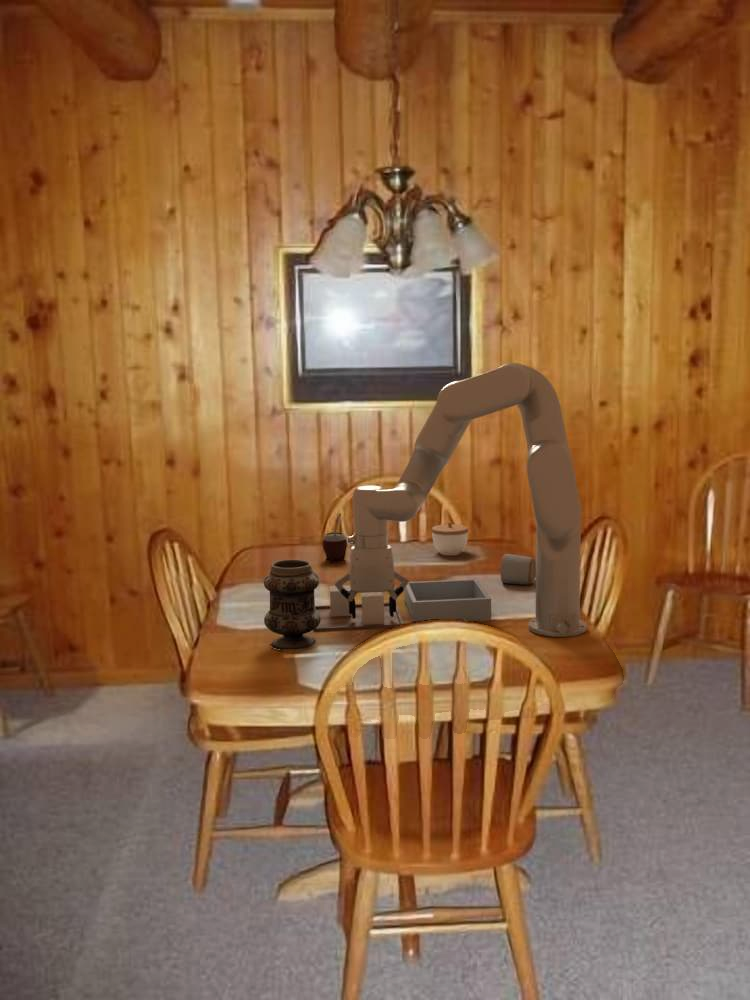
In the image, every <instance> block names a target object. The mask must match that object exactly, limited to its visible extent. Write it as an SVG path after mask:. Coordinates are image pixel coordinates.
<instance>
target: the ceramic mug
mask: <svg viewBox="0 0 750 1000" xmlns="http://www.w3.org/2000/svg"><path fill="white" fill-rule="evenodd" d="M535 580H536V559H535V558H533V557H531V556H524V555H518V554H510V553H504V555H503V556H502V559H501V564H500V581H501V583H502V584H510V585H524V586H525V585H526V586H527V585H532V584H533V583H534V582H535Z"/></svg>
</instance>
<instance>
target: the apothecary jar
mask: <svg viewBox="0 0 750 1000" xmlns="http://www.w3.org/2000/svg"><path fill="white" fill-rule="evenodd" d="M319 584H320V577H319V575H318V574H317V573H316V572H315V571H313V568H312V563H311V562H310V561H308V560H304V559H298V558H297V559H294V558H289V559H288V558H287V559H280V560H276V561H273V562H271V565H270V571H269V573H268V574H266V576H264V579H263V585H264V588H265V589H266V590H267V591H269V610H268V611H267V613H265V615H264V618H263V622H264V626H265V627H266V628H267V629H268V630H269V631H271V632H272V633H275V634H278V635H282V636H280V637H278V638H276V639H274V640H273V641H272V642H271V643H270V647H271V646H272V647H273V648H276V649H280V650H284V651H285V650H289V651H291V650H292V651H293V650H301V649H303V650H304V649H307V648H309V647H310V648H311V647H312V646H314V645H315V644H316V642H317V640H316V639H315V638H313V637H310V636H308V635H306V634H308V633H310V632H313V631H314V629H315V628H316V627H317V626H318V625H319V624H320V621H321V616H320V614H319V612H318V611H317V610H316V609H315V606H316V603H315V602H316V601H315V590H316V589H318V586H319ZM273 648H272V649H273Z"/></svg>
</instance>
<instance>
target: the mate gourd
mask: <svg viewBox="0 0 750 1000" xmlns="http://www.w3.org/2000/svg"><path fill="white" fill-rule="evenodd" d="M341 515H342V513H339V514H338V515H337V517H336V519H335V522H334V523H335V526H334V532H328V533H326V534H325V535H324V536H323V539H322V549H323V551H324V554H325V556H326V557H325V561H327V560H330V561H329V562H330V563H329V564H333V563H332V562H334V561H336V562H337V561H345V562H346V559H345V557H346V551H347V548H348V539H347V537H346V535H345V533H343V532H339V531H338V530H337V529H338V523H339V518H340V517H341ZM337 531H338V532H337ZM334 563H335V562H334Z"/></svg>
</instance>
